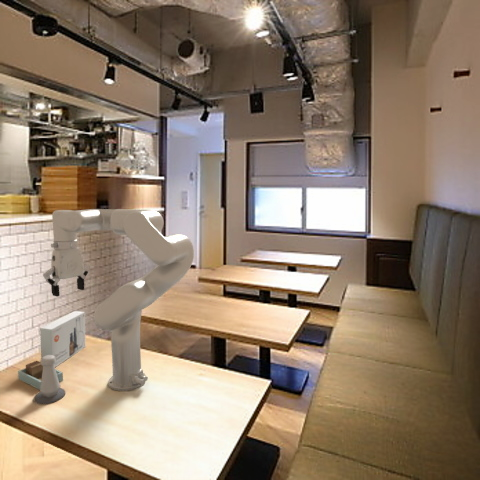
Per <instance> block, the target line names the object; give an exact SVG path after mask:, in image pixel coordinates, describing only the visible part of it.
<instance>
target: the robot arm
mask: <svg viewBox="0 0 480 480" xmlns="http://www.w3.org/2000/svg"><path fill="white" fill-rule="evenodd" d="M51 218H52V233H53V243H51V244H50V247H51V248H53V250H52V253H51V262H50V263H51V264H50V265H51V267H50V269H48V270H46V271H45V272H44V273H43V274H42V277H43V278H44V280H45V281H46V282H47V283H48V284H49V285H51V286H50V287H51V294H52V296H53V297H57V298H58V297H60V294H61V293H60V285H59V283H60V281H61V280H67V279H71V278H76V277H77V279H76V285H77V286H76V289H77V290H81V291H85V279H86V278H87V275H88V274H89V270H90V265H89V264H86V263H84V258H83V253H82V251H81V247H79V246H78V245H79V243H78V234H81V233H85V232H92V231H100V230H101V231H112V232H113V233H114V234H116V235H118V236H127V238H128V239H129V240H131V242H132V243H133V244H134V245H135V246H136V247H137V248H138V249H139V251H141V252H142V253H143V254H144V256H146V258H148V260H150V261H151V262H152V263H153V264H155V265H156V266H155V267H154V268H152V269H151V270H150V271H149V272H147V273H146V274H144V276H143V275H142V277H140V278H137V279H135V280H132V281H130V282H127V283H125V284H123V285H122V286H120V287H118V288H117V289H116V290H115V291H114V292H113V293H111V294H110V295H109V296H107V297H106V298H105V299H104V300H102V302H100V303H99V304H98V305H97V306H96V308H95V310H94V313H93V321H94V323H95V326H96V327H97V328H98V329H100V330H101V331H104V332H111V333H110V334H111V336H110V338H111V339H110V340H111V341H110V343H111V345H110V346H111V363H112V366H111V367H112V376H110V377H109V379H108V381H107V382H108V386H109V388H110V389H112V390H114V391H119V392H123V391H124V392H125V391H131V390H135V389H137V388H140V387H142V386H145V384H146V382H147V381H148V379H149V378H148V376H147V375H146V374H145V373H144V370H143V369H142V357H141V318H142V312H143V310H144V309H146V308H147V307H149V306H152V304H153V303H155V302H156V301H157V300H158V299H160V297H162V296H163V295H164V294H166V292H168V291H169V290H170V289H171V288H173V287H174V286H175V285H176V284H177V283H179V282H180V281H181V280H182V279H183V278H184V277H185V276H186V274H187V273H188V272H189V270H190V269H191V266H193V265H192V264H193V262H194V258H195V257H194V256H195V253H194V252H195V250H194V245H193V243H192V241H191V239H190V238H189V237H188V236H186V235H184V234H179V233H177V234H175V233H174V234H170V235H166V236H164V235H163V234H162V233H161V231H162V230H163V228H164V222H165V221H164V217H163V216H162V214H160V213H159V212H158V211H156V210H153V209H136V208H135V209H131V208H129V209H127V208H126V209H125V208H124V209H122V208H116V209H113V208H111V209H110V208H108V209H107V208H105V209H104V208H91V209H89V208H88V209H81V210H80V209H75V210H72V209H59V210H58V209H56V210H54V211H53V212H52V215H51ZM51 276H52V278H51Z"/></svg>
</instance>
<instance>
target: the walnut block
mask: <svg viewBox="0 0 480 480" xmlns="http://www.w3.org/2000/svg"><path fill="white" fill-rule="evenodd" d="M25 368H26V374H28V375H30V376H32V377H34V378H36V379H38V380H40V379H42V372H43V366H42V365H41V361H38V360H34V361H32V362H29V363H27V364H25Z"/></svg>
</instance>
